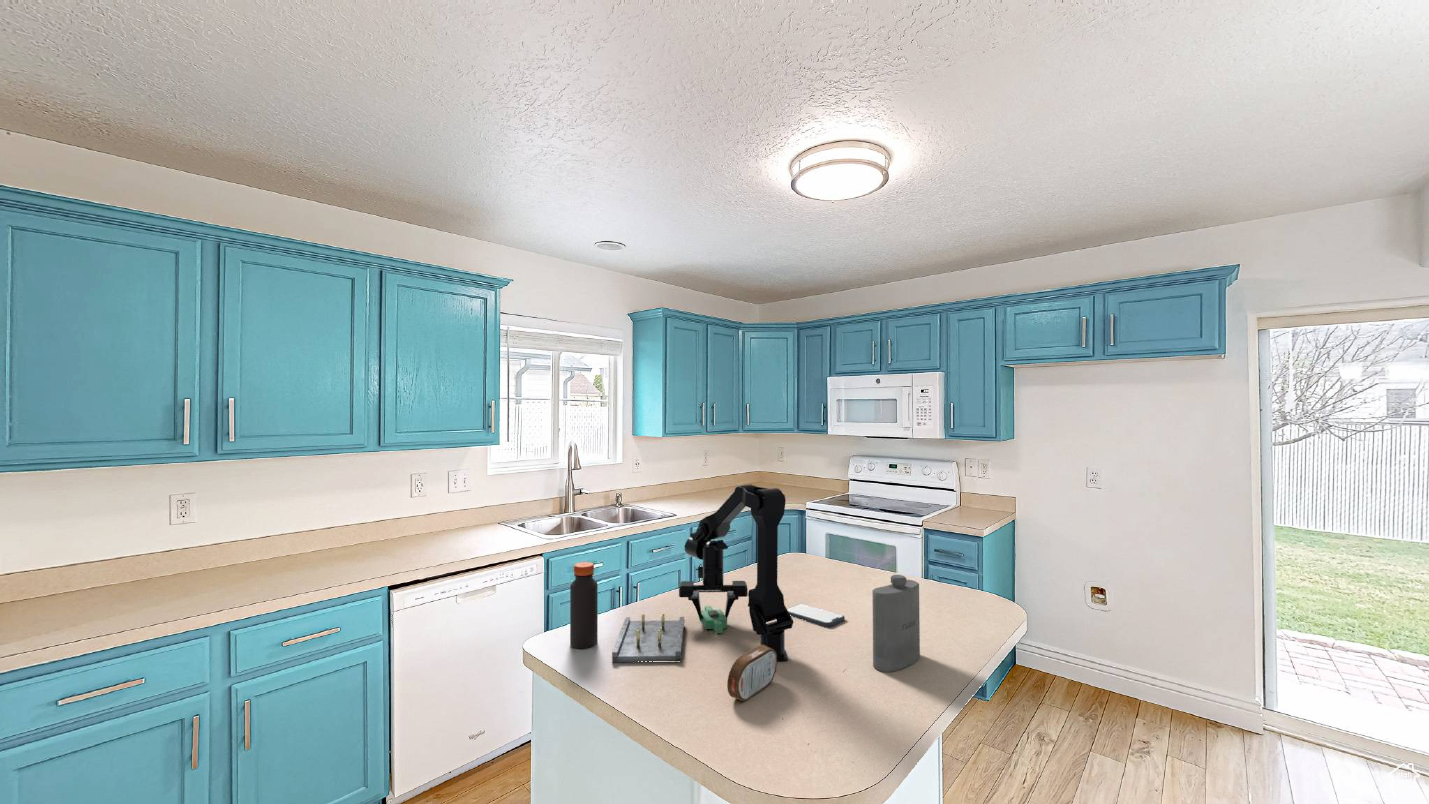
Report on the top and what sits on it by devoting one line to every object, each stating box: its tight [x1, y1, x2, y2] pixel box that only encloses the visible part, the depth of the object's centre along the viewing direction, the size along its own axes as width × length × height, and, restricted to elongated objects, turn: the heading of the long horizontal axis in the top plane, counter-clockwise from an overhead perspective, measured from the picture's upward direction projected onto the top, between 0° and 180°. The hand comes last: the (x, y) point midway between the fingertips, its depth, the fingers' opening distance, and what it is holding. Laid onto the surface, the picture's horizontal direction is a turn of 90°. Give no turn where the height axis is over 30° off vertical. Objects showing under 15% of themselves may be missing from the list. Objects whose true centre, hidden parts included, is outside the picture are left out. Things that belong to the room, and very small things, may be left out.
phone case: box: [787, 603, 846, 629], centre depth 158 cm, size 9×2×16 cm
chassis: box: [611, 613, 685, 664], centre depth 140 cm, size 22×16×5 cm
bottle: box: [569, 561, 599, 650], centre depth 140 cm, size 7×7×20 cm
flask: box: [872, 574, 921, 673], centre depth 129 cm, size 15×6×20 cm, turn 129°
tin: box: [726, 644, 778, 702], centre depth 116 cm, size 15×3×8 cm, turn 141°
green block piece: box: [700, 605, 728, 634], centre depth 152 cm, size 14×6×3 cm, turn 13°
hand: (713, 620), depth 152 cm, fingers closed on green block piece, 6 cm apart
